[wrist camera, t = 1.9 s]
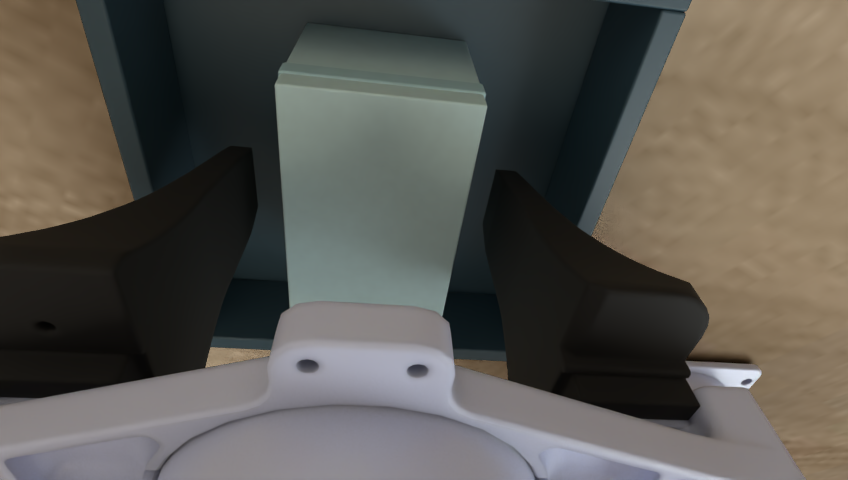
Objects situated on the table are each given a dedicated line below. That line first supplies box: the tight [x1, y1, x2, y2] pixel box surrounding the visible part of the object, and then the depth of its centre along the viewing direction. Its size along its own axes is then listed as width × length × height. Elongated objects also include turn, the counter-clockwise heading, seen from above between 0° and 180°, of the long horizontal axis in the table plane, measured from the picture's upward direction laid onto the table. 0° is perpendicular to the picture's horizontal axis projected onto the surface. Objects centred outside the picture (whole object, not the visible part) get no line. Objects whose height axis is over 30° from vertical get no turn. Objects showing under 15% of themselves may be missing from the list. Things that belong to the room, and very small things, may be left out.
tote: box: [76, 0, 692, 361], centre depth 15 cm, size 13×13×4 cm
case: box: [275, 23, 487, 316], centre depth 15 cm, size 8×5×4 cm, turn 173°
